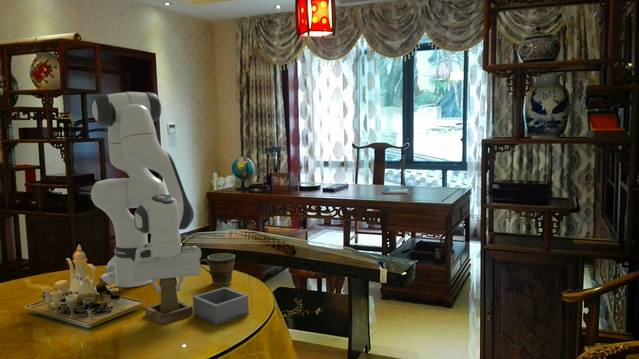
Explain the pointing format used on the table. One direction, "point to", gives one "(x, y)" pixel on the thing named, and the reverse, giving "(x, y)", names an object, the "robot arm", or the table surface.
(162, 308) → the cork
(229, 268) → the ceramic cup
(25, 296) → the table surface
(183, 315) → the socket collar
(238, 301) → the bin
